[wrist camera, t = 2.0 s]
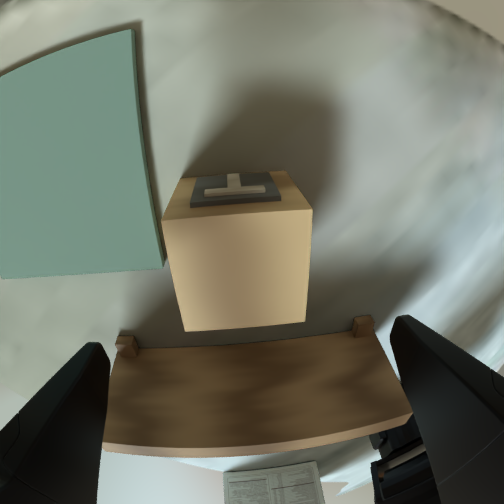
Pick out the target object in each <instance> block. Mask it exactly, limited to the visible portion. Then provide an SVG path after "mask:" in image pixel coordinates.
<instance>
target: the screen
mask: <svg viewBox="0 0 504 504" xmlns="http://www.w3.org/2000/svg"><path fill="white" fill-rule="evenodd" d="M374 323H375V322H374V321H373V319H372V317H371V315H367V316H360V317H355V318H354V322H353V327H352V330H351V331H345V332H339V333H332V334H325V335H318V336H310V337H303V338H295V339H286V340H277V341H267V342H257V343H246V344H233V345H219V346H203V347H181V348H138V345H137V343H136V341H135V338H134V336H118V337H117V340H116V343H115V346H116V348H117V350H118V351H117V354H116V358H115V361H114V365H113V369H112V372H111V376H110V380H109V393H108V408H107V415H106V422H105V428H104V435H103V443H102V448H103V449H104V450H105V451H107V452H115V453H123V454H132V455H145V456H158V457H184V458H207V457H234V456H248V455H260V454H269V453H278V452H286V451H293V450H299V449H306V448H311V447H317V446H322V445H327V444H332V443H337V442H342V441H346V440H350V439H354V438H358V437H362V436H366V435H370V434H374V433H377V432H381V431H384V430H388V429H391V428H394V427H397V426H400V425H403V424H405V423H406V422H407V420H408V419H409V418H410V416H411V415H412V413H413V411H412V408H411V406H410V404H409V401H408V399H407V397H406V395H405V393H404V391H403V388H402V386H401V384H400V382H399V380H398V378H397V376H396V374H395V372H394V370H393V368H392V366H391V364H390V362H389V360H388V358H387V356H386V354H385V352H384V350H383V348H382V346H381V344H380V342H379V340H378V338H377V336H376V334H375V332H374V330H373V326H374Z"/></svg>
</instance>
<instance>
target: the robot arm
mask: <svg viewBox="0 0 504 504" xmlns="http://www.w3.org/2000/svg"><path fill="white" fill-rule="evenodd" d="M390 343H391V347H392V350H393V354H394V357H395V361H396V364H397V368H398V371H399V375H400V378H401V382H402V384H401V386H402V388H403V391H404V393H405V395H406V397H407V399H408V401H409V404H410V406H411V408H412V411H413V413H412V415H411V416H410V418H409V419H408V420H407V422H406V423H405V424H403V425H400V426H397V427H394V428H391V429H388V430H384V431H381V432H377V433H374V434H370V435H369V437H370V440H371V443H372V446H373V449H375V450H377V449H379V452H380V455H381V458H382V459H380V460H378V461H374V462H372V463H371V467H370V468H371V474H372V480H373V486H374V500H375V501H374V502H375V504H504V377H503V376H501V375H500V374H498V373H497V372H495V371H494V370H492V369H491V370H490V368H489V367H488V366H486V365H485V364H483V363H482V362H480V361H479V360H477V359H476V358H475V357H473V356H472V355H470V354H469V353H467V352H466V351H464V350H463V349H461V348H460V347H458V346H456V345H455V344H453V343H452V342H450V341H449V340H447V339H446V338H444V337H443V336H441V335H440V334H438V333H437V332H435V331H434V330H432V329H430V328H429V327H427V326H426V325H424V324H423V323H421V322H420V321H418V320H417V319H415V318H413V317H412V316H410V315H402V316H398V317H396V319H395V321H394V324H393V327H392V330H391V333H390ZM110 368H111V365H110V360H109V358H108V356H107V354H106V352H105V350H104V348H103V346H102V344H101V343H99V342H88V343H86V344H85V345H84V346H83V347H82V348H81V349H80V350H79V351H78V352H77V353H76V354H75V355H74V356H73V357H72V358H71V359H70V360H69V361H68V362H67V363H66V364H65V365H64V366H63V367H62V368H61V369H60V370H59V371H58V372H57V373H56V374H55V375H54V376H53V377H52V378H51V379H50V380H49V381H48V382H47V383H46V384H45V385H44V386H43V387H42V388H41V389H40V390H39V391H38V392H37V393H36V394H35V395H34V396H33V397H32V398H31V399H30V400H29V401H28V402H27V403H26V405H25V406H24V407H23V408H22V409H21V410H20V411H19V414H18V413H17V414H16V415H15V416H14V417H13V418H12V419H11V420H10V421H9V422H8V423H7V424H6V426H5V427H4V428H3V429H2V430H1V431H0V504H97V490H98V478H99V468H100V459H101V450H102V443H103V435H104V428H105V422H106V415H107V408H108V393H109V379H110Z"/></svg>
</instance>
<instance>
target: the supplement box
mask: <svg viewBox="0 0 504 504" xmlns="http://www.w3.org/2000/svg"><path fill="white" fill-rule="evenodd" d="M223 484H224V485H223V486H224V501H225V504H325V500H324V496H323V491H322V486H321V482H320V477H319V472H318V468H317V463H316V461H312V462H307V463H302V464H296V465H290V466H283V467H276V468H269V469H260V470H250V471H239V472H224V473H223Z"/></svg>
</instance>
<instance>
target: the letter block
mask: <svg viewBox="0 0 504 504" xmlns="http://www.w3.org/2000/svg"><path fill="white" fill-rule="evenodd" d="M312 212H313V209H312V208H311V206H310V205H309V203H308V202H307V200H306V199H305V198H304V196H303V195H302V193H301V192H300V190H299V189H298V188H297V186H296V185H295V183H294V182H293V181H292V179H291V178H290V176H289V175H288V174H287V172H286V171H269V172H251V173H233V174H224V175H212V176H201V177H190V178H181V179H180V180H179V182H178V184H177V186H176V188H175V191H174V193H173V195H172V197H171V199H170V202H169V204H168V206H167V208H166V210H165V213H164V215H163V217H162V220H161V224H162V229H163V235H164V240H165V245H166V250H167V255H168V260H169V264H170V269H171V274H172V278H173V283H174V287H175V292H176V296H177V300H178V304H179V309H180V313H181V317H182V321H183V325H184V329H185V332H188V331H206V330H221V329H235V328H247V327H258V326H269V325H279V324H288V323H297V322H305V316H306V305H307V293H308V280H309V266H310V250H311V233H312Z"/></svg>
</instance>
